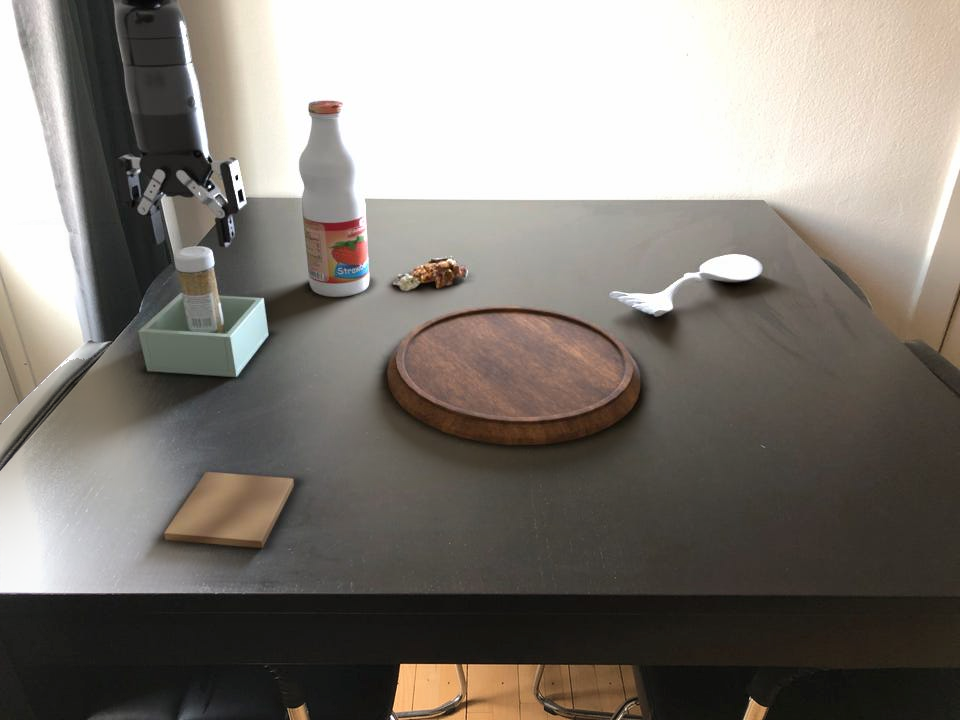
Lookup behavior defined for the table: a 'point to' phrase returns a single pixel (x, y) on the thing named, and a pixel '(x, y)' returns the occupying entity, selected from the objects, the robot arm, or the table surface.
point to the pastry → (432, 274)
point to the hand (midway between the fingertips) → (192, 243)
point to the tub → (204, 339)
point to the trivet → (231, 510)
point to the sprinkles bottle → (199, 289)
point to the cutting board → (514, 375)
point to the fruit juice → (333, 206)
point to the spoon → (717, 269)
